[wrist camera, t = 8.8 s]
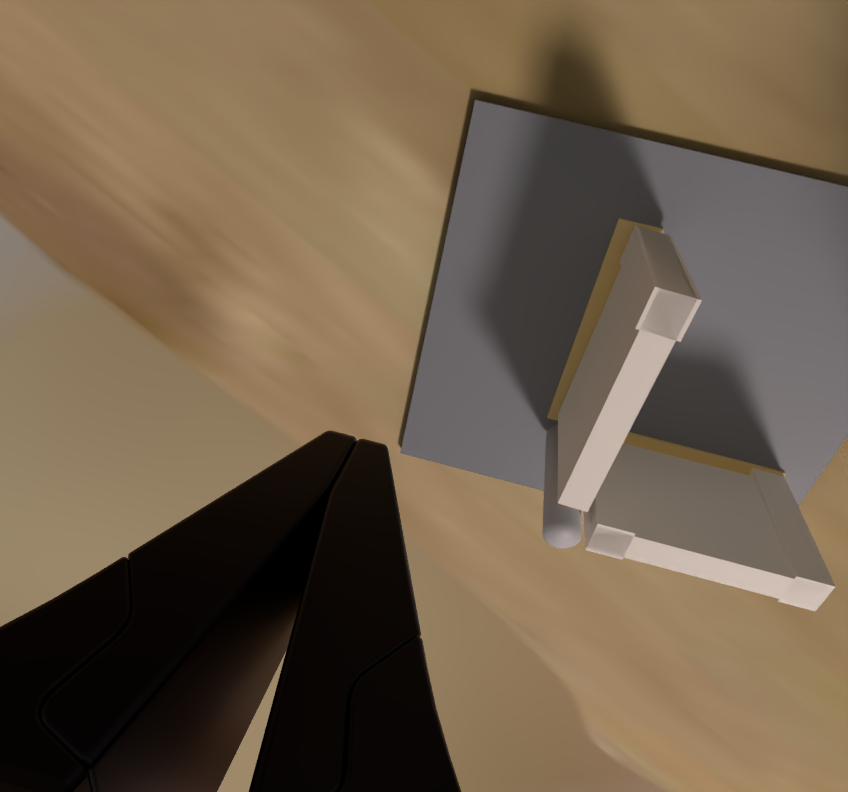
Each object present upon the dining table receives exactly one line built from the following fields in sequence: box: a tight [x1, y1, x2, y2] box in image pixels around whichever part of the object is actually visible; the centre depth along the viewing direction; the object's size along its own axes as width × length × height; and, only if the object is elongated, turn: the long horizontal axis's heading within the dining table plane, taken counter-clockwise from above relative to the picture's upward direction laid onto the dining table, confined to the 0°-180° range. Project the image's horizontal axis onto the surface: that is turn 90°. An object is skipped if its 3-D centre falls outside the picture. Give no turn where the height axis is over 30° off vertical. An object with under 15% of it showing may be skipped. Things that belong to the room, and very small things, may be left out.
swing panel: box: [543, 226, 702, 548], centre depth 17 cm, size 8×1×4 cm, turn 167°
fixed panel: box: [584, 443, 836, 611], centre depth 19 cm, size 6×1×4 cm, turn 80°
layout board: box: [400, 99, 848, 506], centre depth 19 cm, size 13×12×1 cm
